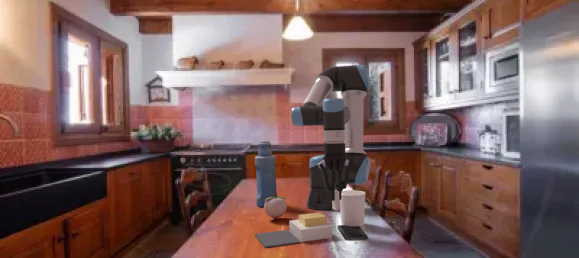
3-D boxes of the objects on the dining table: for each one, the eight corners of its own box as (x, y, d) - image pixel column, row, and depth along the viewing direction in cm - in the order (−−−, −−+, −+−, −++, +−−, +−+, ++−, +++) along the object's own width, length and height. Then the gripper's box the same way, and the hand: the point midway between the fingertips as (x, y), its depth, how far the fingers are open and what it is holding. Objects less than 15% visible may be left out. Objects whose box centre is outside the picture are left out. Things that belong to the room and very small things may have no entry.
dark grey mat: (287, 231, 138) (287, 229, 138) (300, 243, 124) (300, 241, 124) (254, 235, 134) (254, 233, 134) (264, 247, 121) (264, 246, 120)
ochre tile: (319, 219, 137) (319, 212, 137) (326, 223, 131) (326, 216, 131) (298, 221, 135) (298, 214, 135) (304, 226, 129) (304, 219, 129)
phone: (344, 238, 126) (337, 225, 141) (345, 241, 126) (337, 228, 141) (368, 237, 126) (358, 224, 141) (368, 240, 126) (358, 227, 141)
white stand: (318, 228, 140) (318, 217, 140) (332, 237, 129) (331, 225, 129) (289, 231, 137) (289, 220, 137) (301, 241, 125) (301, 229, 125)
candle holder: (357, 220, 150) (356, 189, 150) (371, 226, 141) (370, 193, 140) (334, 223, 146) (334, 191, 146) (347, 229, 137) (346, 196, 137)
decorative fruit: (271, 223, 148) (270, 197, 148) (261, 219, 155) (260, 194, 155) (291, 219, 153) (291, 194, 153) (281, 215, 160) (281, 191, 160)
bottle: (280, 206, 177) (278, 141, 176) (259, 208, 173) (257, 142, 172) (273, 202, 186) (271, 140, 185) (253, 204, 182) (251, 141, 181)
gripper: (321, 143, 129) (323, 213, 130) (356, 142, 134) (357, 209, 134) (313, 142, 137) (314, 209, 137) (346, 141, 141) (347, 205, 141)
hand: (335, 209), depth 135 cm, fingers closed
